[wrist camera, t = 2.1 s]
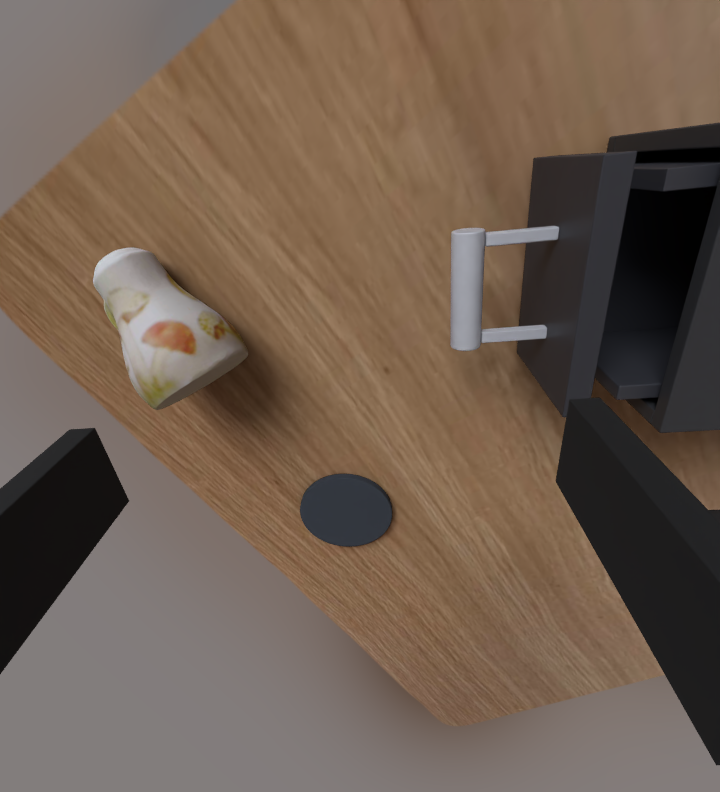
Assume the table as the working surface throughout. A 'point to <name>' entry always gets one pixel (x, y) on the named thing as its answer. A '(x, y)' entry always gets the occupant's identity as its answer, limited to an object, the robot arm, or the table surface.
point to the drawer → (594, 271)
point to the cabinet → (688, 300)
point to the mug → (164, 329)
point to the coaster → (346, 510)
